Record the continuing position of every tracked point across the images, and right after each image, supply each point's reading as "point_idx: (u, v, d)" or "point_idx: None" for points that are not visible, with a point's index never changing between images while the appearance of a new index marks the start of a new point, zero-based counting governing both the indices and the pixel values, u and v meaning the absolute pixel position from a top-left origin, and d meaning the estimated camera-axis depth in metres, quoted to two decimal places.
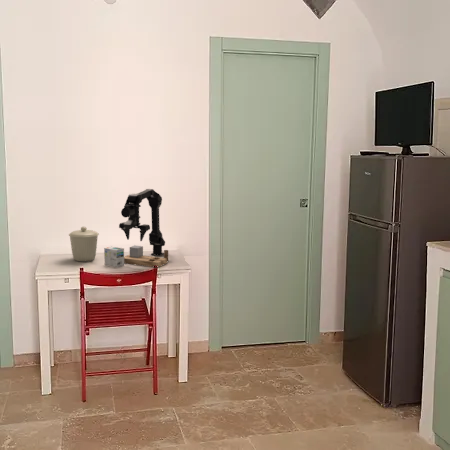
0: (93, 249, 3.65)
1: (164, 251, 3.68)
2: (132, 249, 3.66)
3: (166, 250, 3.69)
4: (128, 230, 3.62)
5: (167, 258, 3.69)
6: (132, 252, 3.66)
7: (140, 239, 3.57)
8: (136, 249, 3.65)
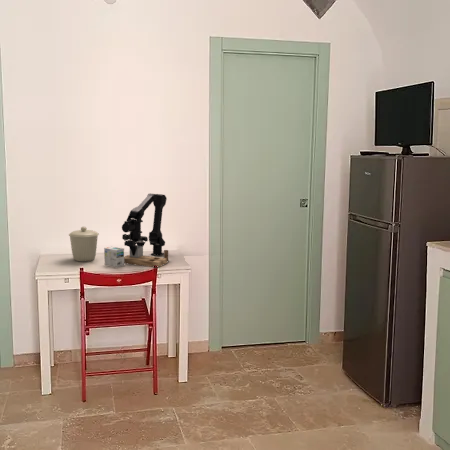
0: (93, 249, 3.65)
1: (164, 251, 3.68)
2: None
3: (166, 250, 3.69)
4: (140, 245, 3.71)
5: (167, 258, 3.69)
6: None
7: None
8: (136, 249, 3.65)
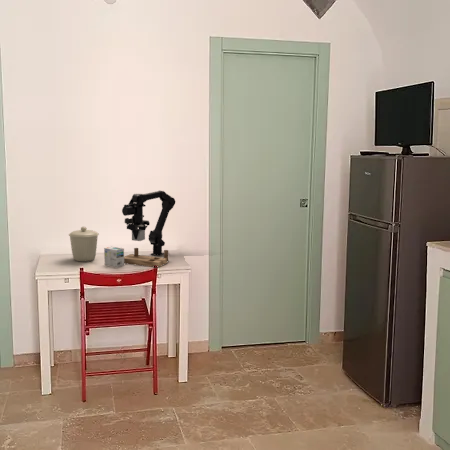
0: (93, 249, 3.65)
1: (164, 251, 3.68)
2: None
3: (166, 250, 3.69)
4: (142, 228, 3.77)
5: (167, 258, 3.69)
6: None
7: None
8: (138, 233, 3.71)
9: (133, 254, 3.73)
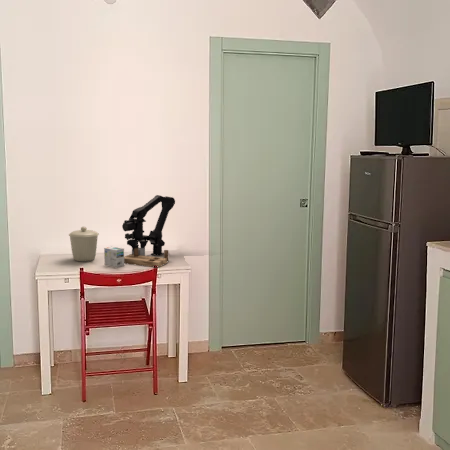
0: (93, 249, 3.65)
1: (164, 251, 3.68)
2: None
3: (166, 250, 3.69)
4: (143, 243, 3.80)
5: (167, 258, 3.69)
6: None
7: None
8: (138, 251, 3.73)
9: (133, 254, 3.73)
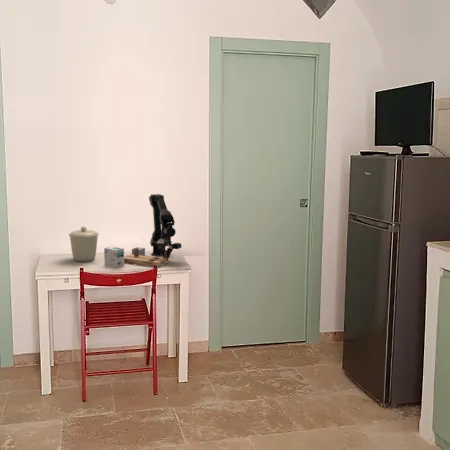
0: (93, 249, 3.65)
1: (164, 251, 3.68)
2: None
3: (166, 250, 3.69)
4: (164, 249, 3.70)
5: (167, 258, 3.69)
6: None
7: (167, 256, 3.68)
8: (138, 251, 3.73)
9: (133, 254, 3.73)
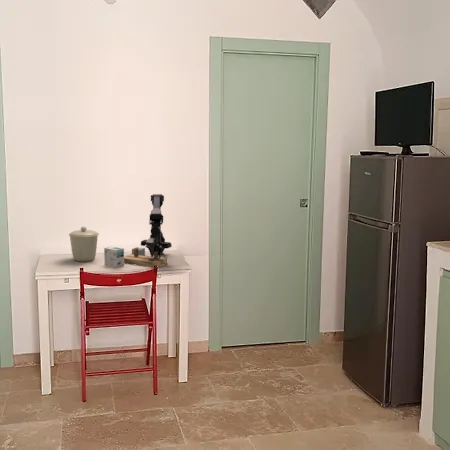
0: (93, 249, 3.65)
1: (154, 253, 3.62)
2: None
3: (156, 252, 3.63)
4: (152, 248, 3.65)
5: None
6: None
7: (159, 256, 3.62)
8: (138, 251, 3.73)
9: (133, 254, 3.73)
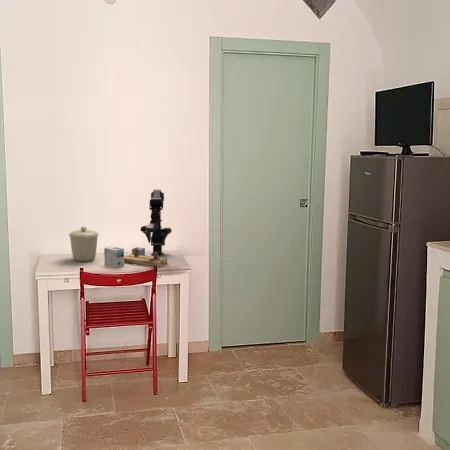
0: (93, 249, 3.65)
1: (154, 253, 3.62)
2: None
3: (156, 252, 3.63)
4: (149, 233, 3.64)
5: None
6: None
7: (162, 242, 3.60)
8: (138, 251, 3.73)
9: (133, 254, 3.73)
